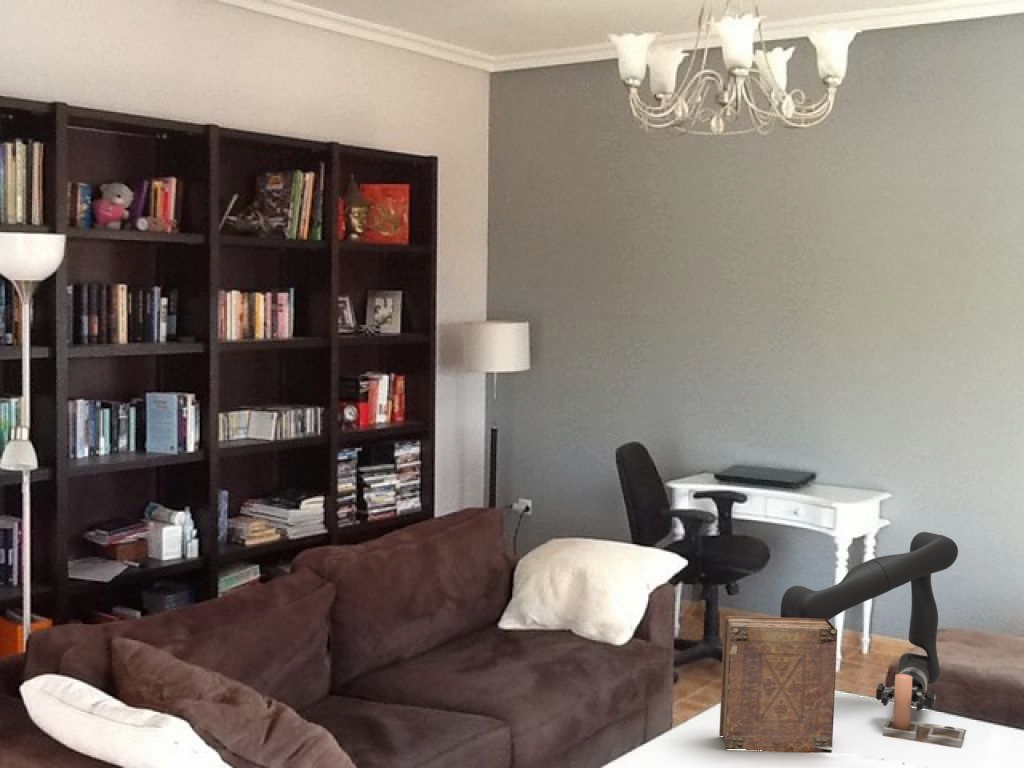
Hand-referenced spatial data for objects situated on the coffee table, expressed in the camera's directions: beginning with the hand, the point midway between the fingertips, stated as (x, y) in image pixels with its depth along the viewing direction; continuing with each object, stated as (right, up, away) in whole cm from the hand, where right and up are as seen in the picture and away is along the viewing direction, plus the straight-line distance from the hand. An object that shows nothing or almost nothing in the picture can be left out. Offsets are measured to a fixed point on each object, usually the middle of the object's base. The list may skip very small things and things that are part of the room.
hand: (901, 704), depth 308 cm
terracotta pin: (+1, -8, +3) cm, 8 cm away
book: (-31, -9, -3) cm, 33 cm away
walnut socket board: (+6, -9, +3) cm, 12 cm away
